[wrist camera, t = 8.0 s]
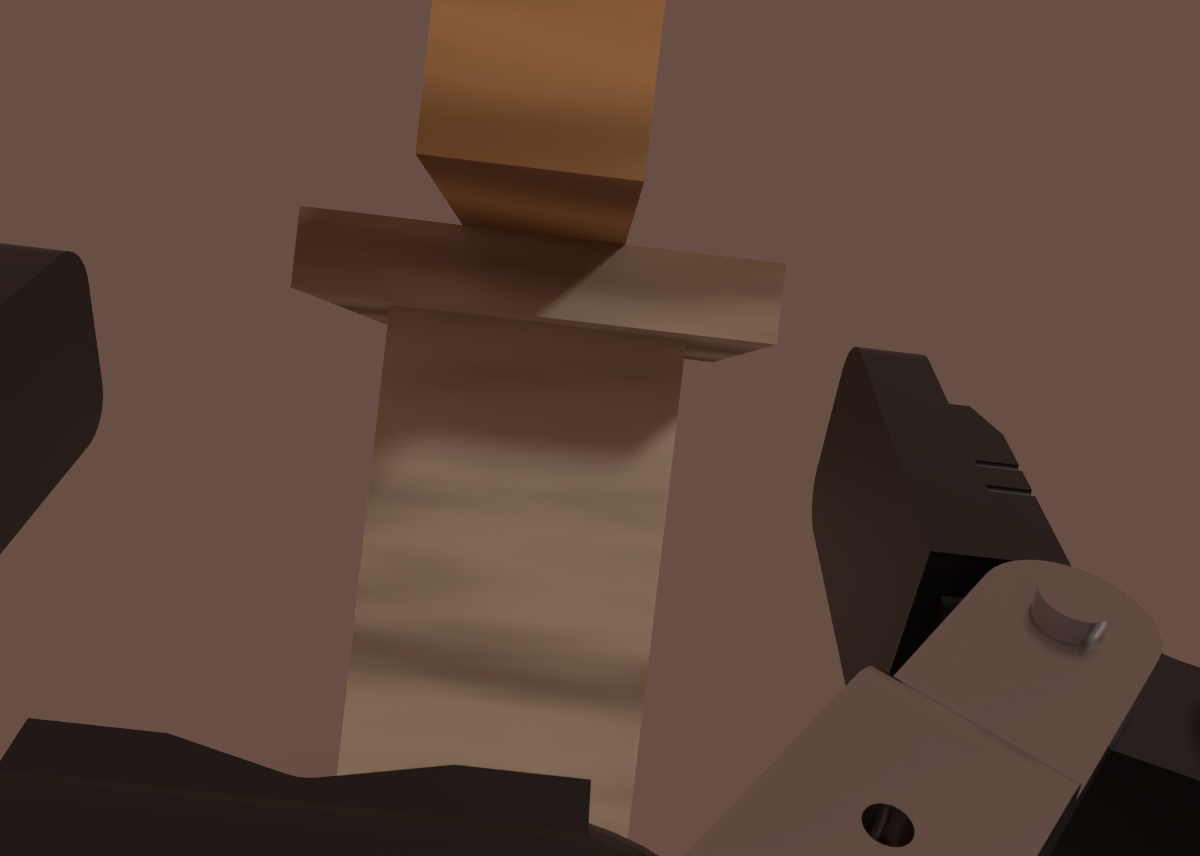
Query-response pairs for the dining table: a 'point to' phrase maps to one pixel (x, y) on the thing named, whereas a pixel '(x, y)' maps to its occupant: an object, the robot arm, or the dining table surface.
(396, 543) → the stand
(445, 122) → the bar
